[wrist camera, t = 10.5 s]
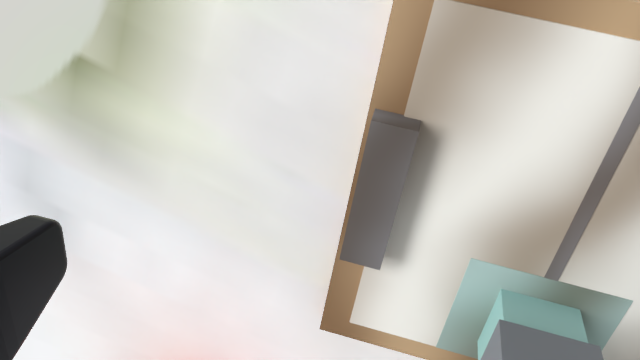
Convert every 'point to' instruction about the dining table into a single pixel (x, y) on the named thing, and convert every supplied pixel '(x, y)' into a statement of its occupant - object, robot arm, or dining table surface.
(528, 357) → the grey and teal block
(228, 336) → the dining table surface
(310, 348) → the dining table surface
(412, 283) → the square wooden frame
